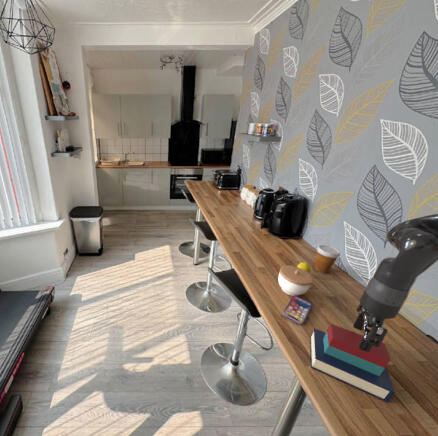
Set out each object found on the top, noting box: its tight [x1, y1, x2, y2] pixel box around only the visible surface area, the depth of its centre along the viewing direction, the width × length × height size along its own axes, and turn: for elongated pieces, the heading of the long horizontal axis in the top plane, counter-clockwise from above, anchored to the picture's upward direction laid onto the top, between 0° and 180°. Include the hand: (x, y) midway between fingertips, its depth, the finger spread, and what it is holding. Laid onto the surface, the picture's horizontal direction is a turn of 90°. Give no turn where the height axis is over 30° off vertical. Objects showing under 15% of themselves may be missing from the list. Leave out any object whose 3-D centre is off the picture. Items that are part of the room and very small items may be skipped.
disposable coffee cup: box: [313, 244, 341, 274], centre depth 119 cm, size 10×10×12 cm
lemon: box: [296, 261, 311, 274], centre depth 114 cm, size 6×6×8 cm
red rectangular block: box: [326, 323, 391, 368], centre depth 70 cm, size 13×6×4 cm, turn 59°
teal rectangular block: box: [323, 331, 385, 376], centre depth 71 cm, size 13×6×4 cm, turn 59°
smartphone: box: [282, 295, 313, 325], centre depth 95 cm, size 1×7×15 cm
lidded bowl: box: [277, 265, 314, 297], centre depth 103 cm, size 13×13×11 cm
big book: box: [309, 327, 396, 403], centre depth 73 cm, size 18×13×4 cm
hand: (360, 338), depth 69 cm, fingers open, 8 cm apart
